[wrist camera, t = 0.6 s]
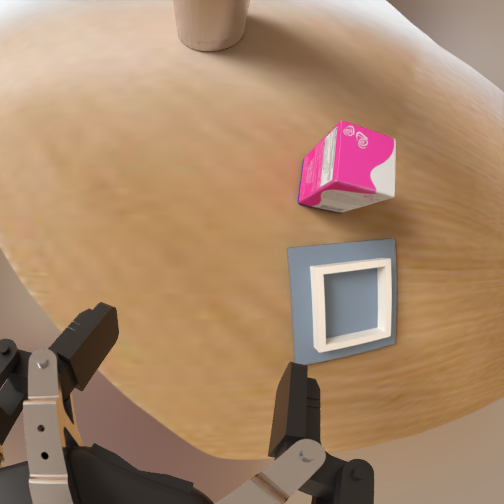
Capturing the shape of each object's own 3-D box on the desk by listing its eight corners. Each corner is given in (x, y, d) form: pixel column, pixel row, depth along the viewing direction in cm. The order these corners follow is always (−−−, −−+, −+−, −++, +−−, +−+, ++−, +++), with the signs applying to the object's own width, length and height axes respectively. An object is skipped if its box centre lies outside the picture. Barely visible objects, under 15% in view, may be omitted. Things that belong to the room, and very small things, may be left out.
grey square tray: (287, 247, 32) (294, 248, 29) (390, 238, 34) (403, 238, 31) (294, 363, 33) (301, 373, 30) (391, 341, 34) (403, 348, 31)
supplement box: (346, 167, 33) (398, 139, 21) (341, 214, 33) (396, 202, 21) (302, 156, 32) (341, 118, 20) (295, 204, 32) (335, 185, 21)
